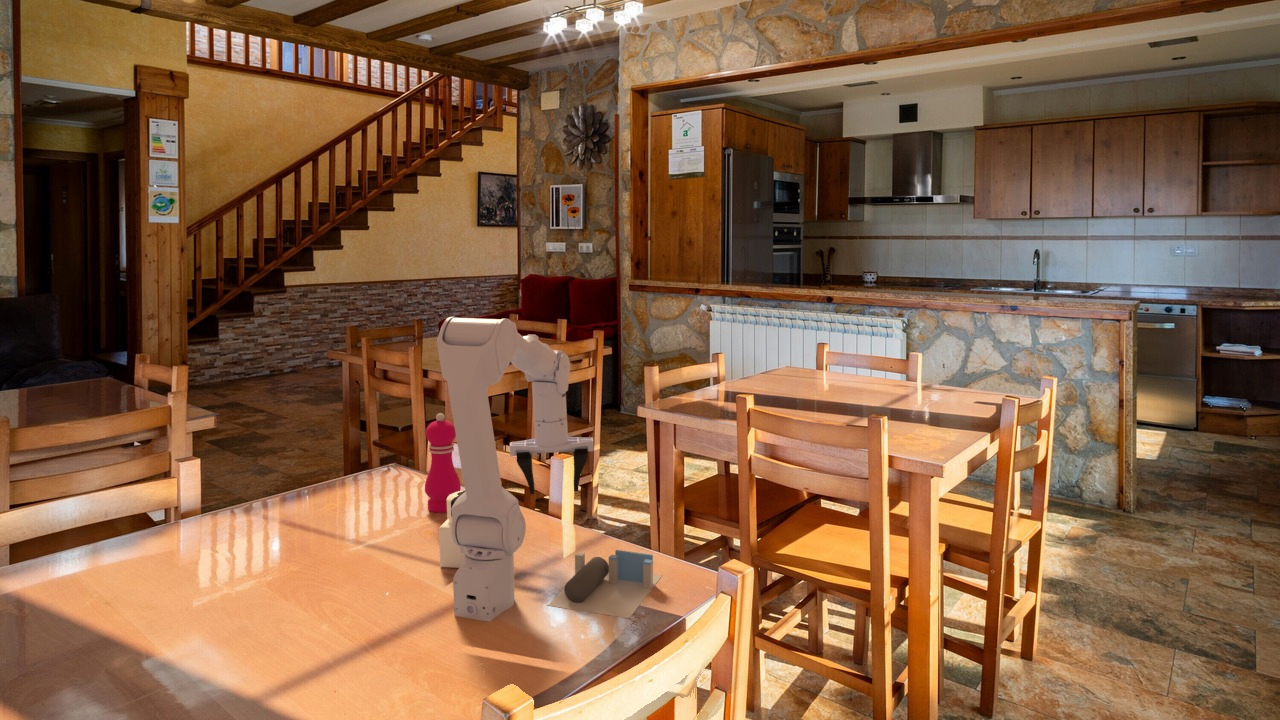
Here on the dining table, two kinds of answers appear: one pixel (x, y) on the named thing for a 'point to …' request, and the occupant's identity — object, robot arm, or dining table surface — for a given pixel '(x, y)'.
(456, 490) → the pepper mill
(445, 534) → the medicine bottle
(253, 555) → the dining table surface
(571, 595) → the dark brown cylinder post
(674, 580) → the dining table surface
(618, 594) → the base plate with posts
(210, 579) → the dining table surface
